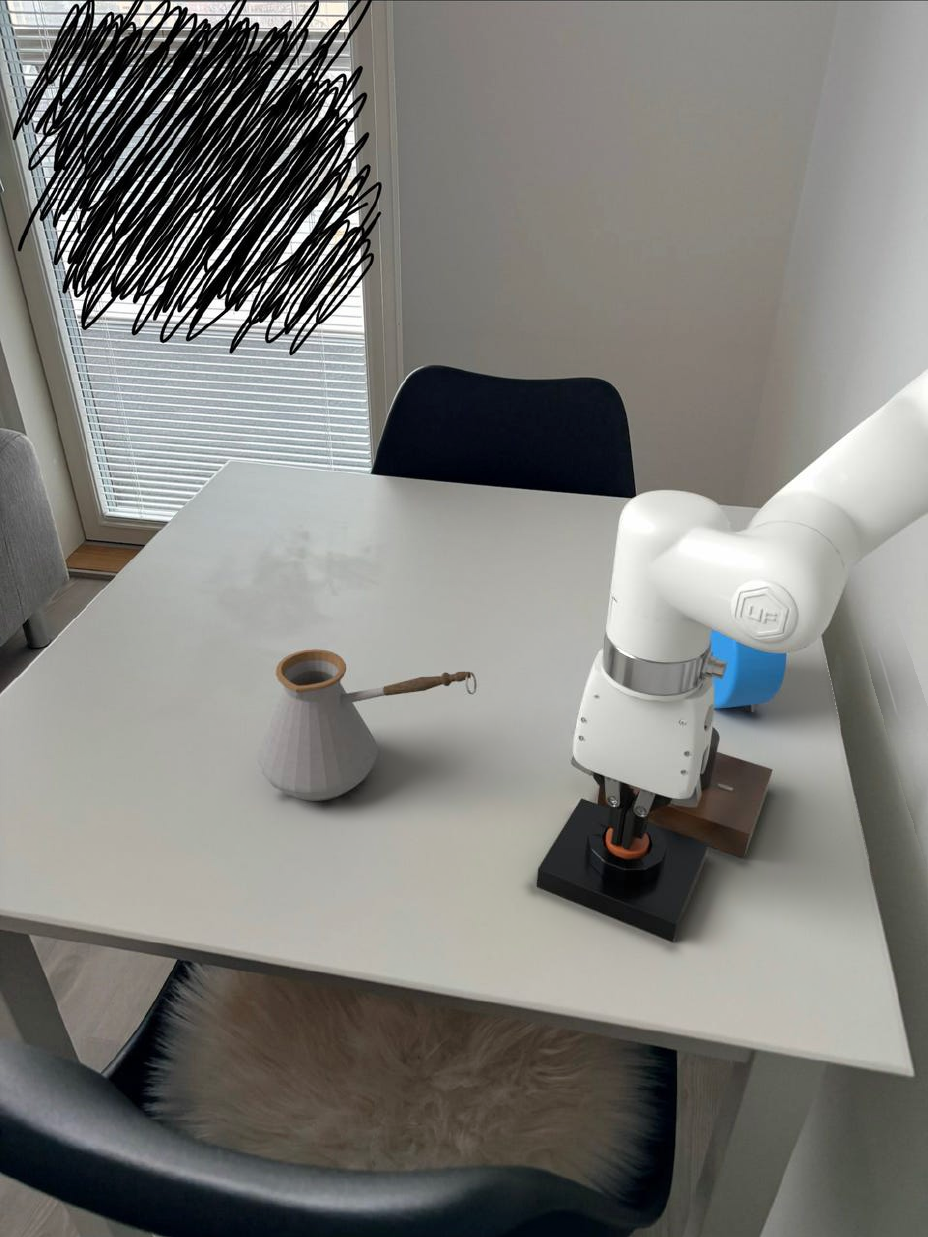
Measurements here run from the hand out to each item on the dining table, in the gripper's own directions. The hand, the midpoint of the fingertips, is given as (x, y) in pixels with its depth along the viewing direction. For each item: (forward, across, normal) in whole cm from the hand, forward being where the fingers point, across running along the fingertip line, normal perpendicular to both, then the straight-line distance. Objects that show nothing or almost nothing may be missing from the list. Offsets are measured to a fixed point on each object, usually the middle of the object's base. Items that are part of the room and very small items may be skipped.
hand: (625, 836), depth 74 cm
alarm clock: (+5, -1, -31) cm, 31 cm away
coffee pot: (+5, +26, +1) cm, 26 cm away
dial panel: (+4, -2, -12) cm, 13 cm away
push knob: (+2, 0, 0) cm, 2 cm away
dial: (+1, -2, -12) cm, 12 cm away
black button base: (+4, 0, 0) cm, 4 cm away
